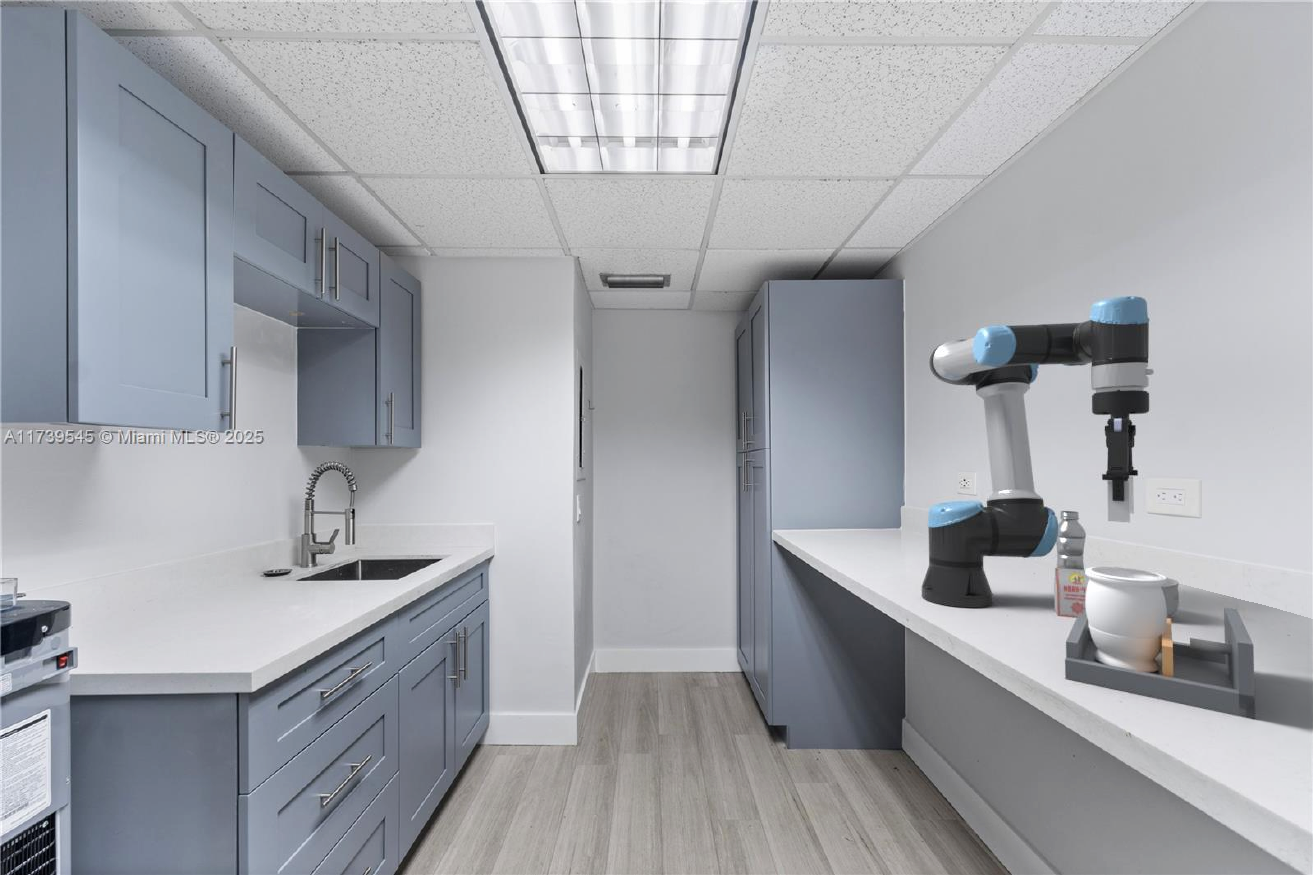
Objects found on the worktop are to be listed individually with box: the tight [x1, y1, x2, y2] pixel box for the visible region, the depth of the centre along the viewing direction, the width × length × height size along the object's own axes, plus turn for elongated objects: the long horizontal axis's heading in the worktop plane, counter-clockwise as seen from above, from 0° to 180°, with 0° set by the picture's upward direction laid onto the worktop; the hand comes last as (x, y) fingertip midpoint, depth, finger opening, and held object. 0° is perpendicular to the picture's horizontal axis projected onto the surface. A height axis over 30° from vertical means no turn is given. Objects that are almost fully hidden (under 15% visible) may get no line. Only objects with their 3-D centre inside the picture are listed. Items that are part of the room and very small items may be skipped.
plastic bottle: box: [1054, 510, 1087, 581], centre depth 145 cm, size 6×7×20 cm
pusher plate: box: [1162, 617, 1173, 678], centre depth 92 cm, size 1×18×6 cm, turn 139°
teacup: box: [1161, 577, 1180, 618], centre depth 126 cm, size 14×11×8 cm
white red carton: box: [1053, 567, 1089, 619], centre depth 125 cm, size 4×7×10 cm, turn 63°
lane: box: [1064, 606, 1256, 720], centre depth 93 cm, size 21×22×10 cm
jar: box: [1084, 566, 1167, 673], centre depth 95 cm, size 11×10×15 cm
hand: (1121, 517), depth 97 cm, fingers open, 13 cm apart
